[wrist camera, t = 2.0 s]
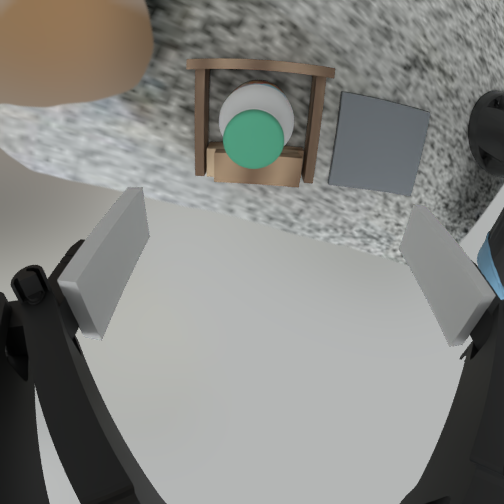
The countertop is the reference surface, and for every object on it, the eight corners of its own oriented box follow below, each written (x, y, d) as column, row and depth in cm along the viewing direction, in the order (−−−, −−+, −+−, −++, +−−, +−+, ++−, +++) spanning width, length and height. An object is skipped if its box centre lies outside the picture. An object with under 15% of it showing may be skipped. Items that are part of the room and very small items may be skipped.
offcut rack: (322, 67, 33) (335, 68, 27) (309, 174, 43) (317, 197, 36) (201, 59, 33) (186, 59, 27) (200, 167, 43) (188, 188, 36)
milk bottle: (299, 102, 37) (327, 135, 20) (263, 143, 40) (262, 207, 24) (253, 68, 34) (242, 70, 18) (219, 111, 38) (181, 152, 22)
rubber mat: (427, 111, 35) (430, 112, 34) (408, 193, 43) (410, 196, 43) (341, 91, 35) (342, 91, 35) (327, 182, 43) (328, 184, 43)
